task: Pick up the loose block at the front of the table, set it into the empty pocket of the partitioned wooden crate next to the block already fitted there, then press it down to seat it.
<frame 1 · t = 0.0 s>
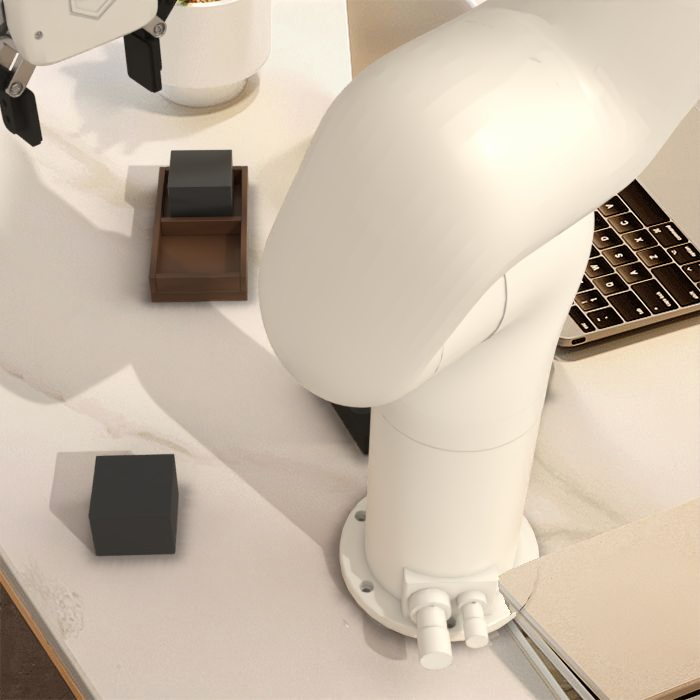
hand: (87, 109, 86), 17 cm above the worktop, tool pointing down, fingers open, 9 cm apart
vhs tape: (430, 392, 92), on the worktop
partitioned wooden crate: (206, 179, 110), on the worktop
block: (138, 524, 82), on the worktop
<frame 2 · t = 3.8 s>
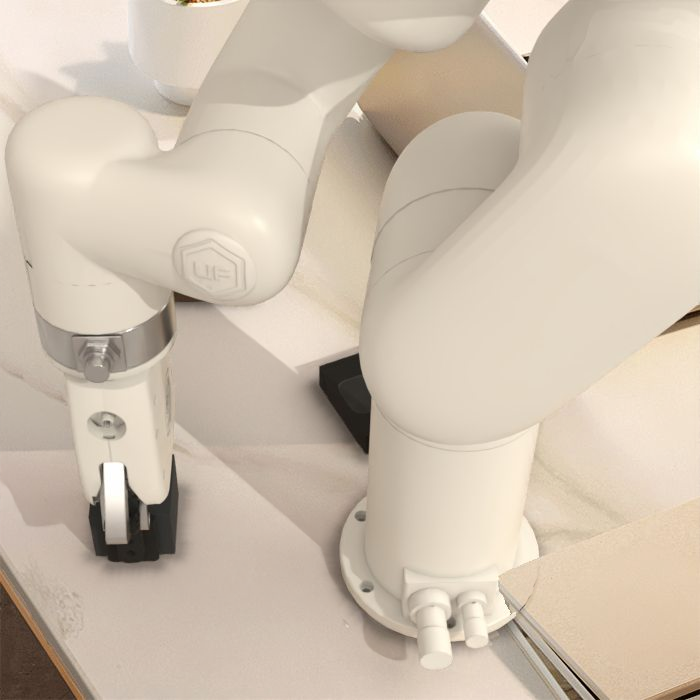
hand: (137, 520, 82), 0 cm above the worktop, tool pointing down, fingers closed on block, 5 cm apart
block: (138, 524, 82), on the worktop, touching gripper
everything else where it was.
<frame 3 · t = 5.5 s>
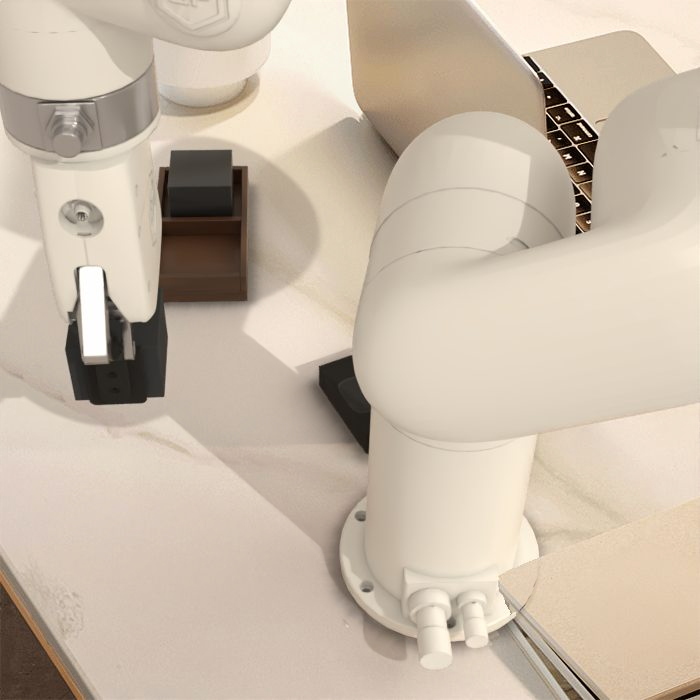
hand: (122, 362, 73), 14 cm above the worktop, tool pointing down, fingers closed on block, 5 cm apart
block: (122, 368, 73), point 14 cm above the worktop, touching gripper
everything else where it was.
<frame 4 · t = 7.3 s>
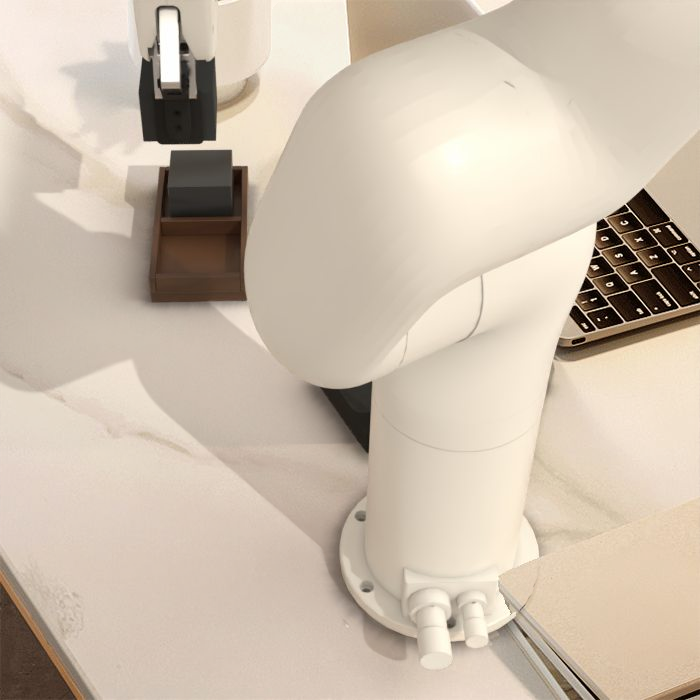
hand: (182, 115, 89), 15 cm above the worktop, tool pointing down, fingers closed on block, 5 cm apart
block: (181, 120, 90), point 15 cm above the worktop, touching gripper
everything else where it was.
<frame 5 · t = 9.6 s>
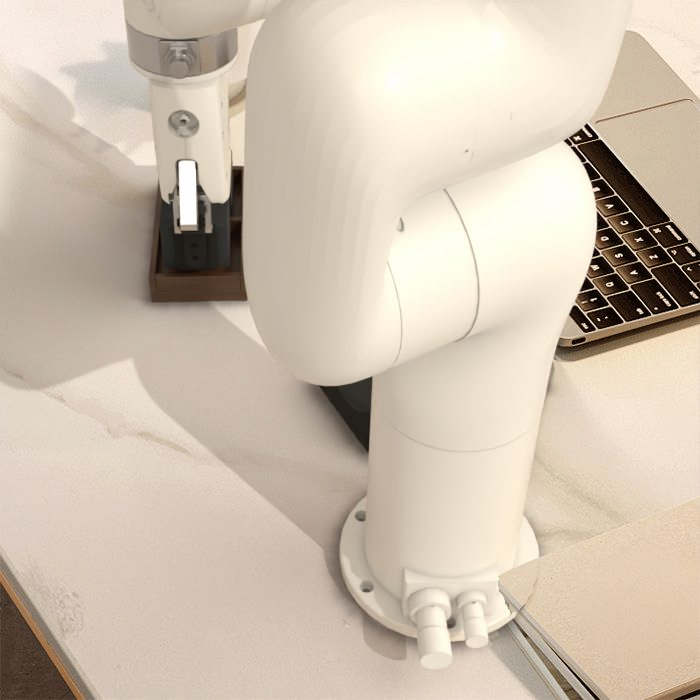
hand: (198, 242, 99), 3 cm above the worktop, tool pointing down, fingers closed on block, 4 cm apart
block: (197, 246, 99), point 2 cm above the worktop, touching gripper
everything else where it was.
when the fingers open (3 cm above the worktop, at t = 11.0 s): block drops 1 cm, resting on partitioned wooden crate.
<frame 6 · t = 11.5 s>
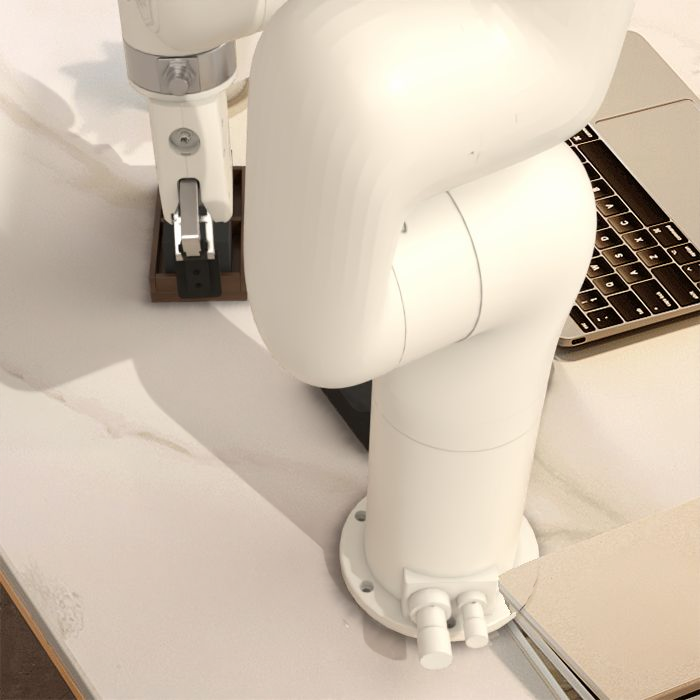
hand: (201, 256, 98), 3 cm above the worktop, tool pointing down, fingers open, 8 cm apart
block: (199, 261, 100), point 1 cm above the worktop, touching partitioned wooden crate, gripper
everything else where it was.
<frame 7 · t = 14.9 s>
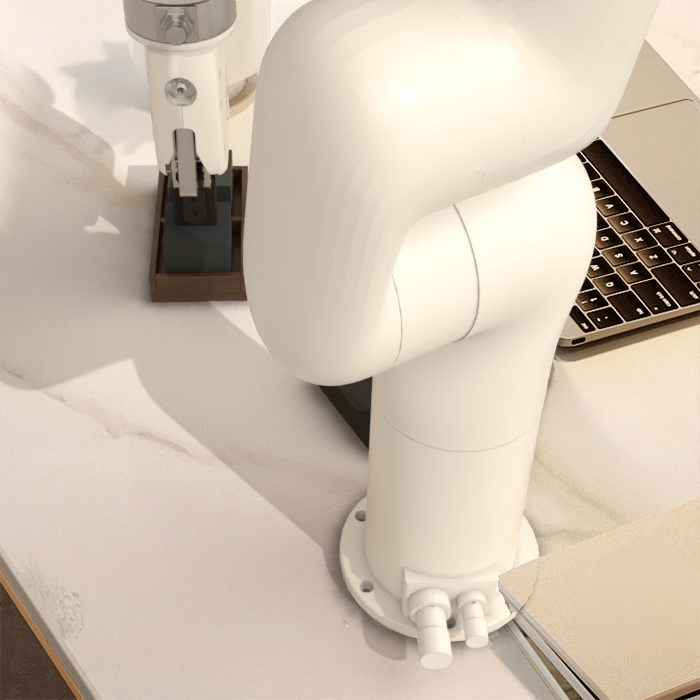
hand: (196, 219, 97), 5 cm above the worktop, tool pointing down, fingers closed
nothing on the worktop moved.
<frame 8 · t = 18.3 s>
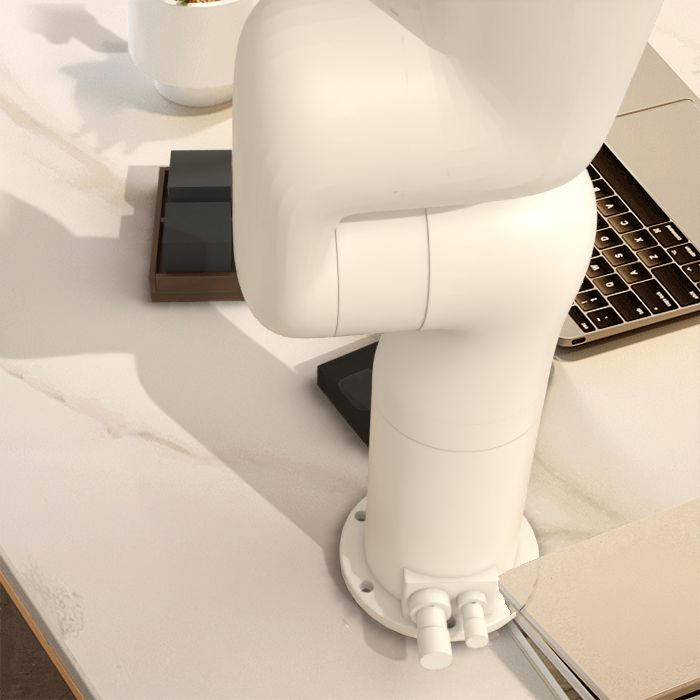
block: (200, 262, 100), point 1 cm above the worktop, touching partitioned wooden crate
everything else where it was.
at the end: block 0.2 cm from the target spot on the partitioned wooden crate, point 1.0 cm above the partitioned wooden crate's base; block tilted 0°; the gripper is holding nothing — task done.
